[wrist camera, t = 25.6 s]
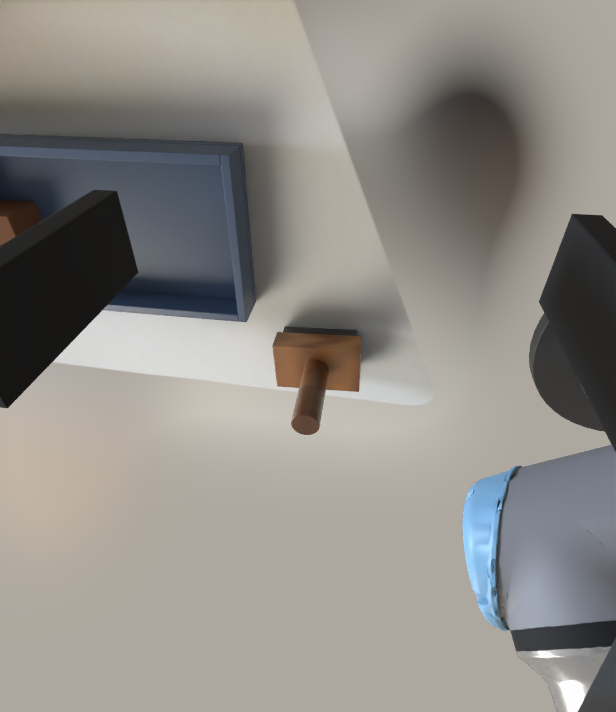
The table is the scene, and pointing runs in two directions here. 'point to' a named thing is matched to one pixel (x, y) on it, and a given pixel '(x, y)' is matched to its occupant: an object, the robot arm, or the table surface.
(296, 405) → the stamp
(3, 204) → the brown cube
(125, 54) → the table surface
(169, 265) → the tray
